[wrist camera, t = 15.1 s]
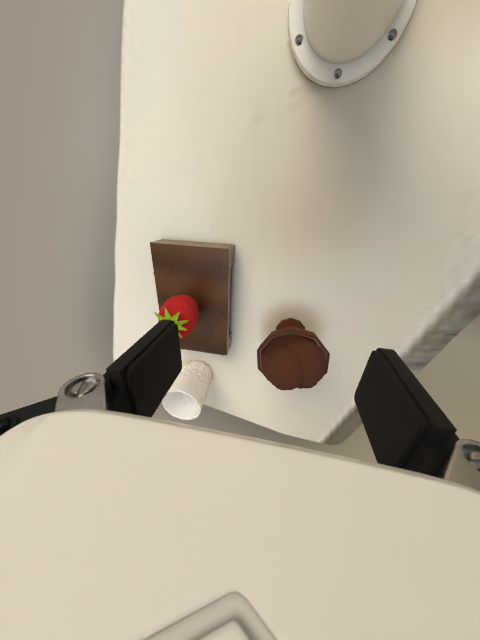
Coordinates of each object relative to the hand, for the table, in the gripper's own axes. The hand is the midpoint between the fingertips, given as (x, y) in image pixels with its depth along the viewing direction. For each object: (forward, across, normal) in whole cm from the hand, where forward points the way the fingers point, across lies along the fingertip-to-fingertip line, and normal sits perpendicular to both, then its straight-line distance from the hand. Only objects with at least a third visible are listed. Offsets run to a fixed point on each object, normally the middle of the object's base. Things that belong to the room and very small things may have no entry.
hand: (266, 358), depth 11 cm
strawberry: (+24, +14, +9) cm, 30 cm away
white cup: (+28, +15, +28) cm, 43 cm away
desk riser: (+28, +14, +9) cm, 33 cm away
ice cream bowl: (+28, -4, +14) cm, 32 cm away
